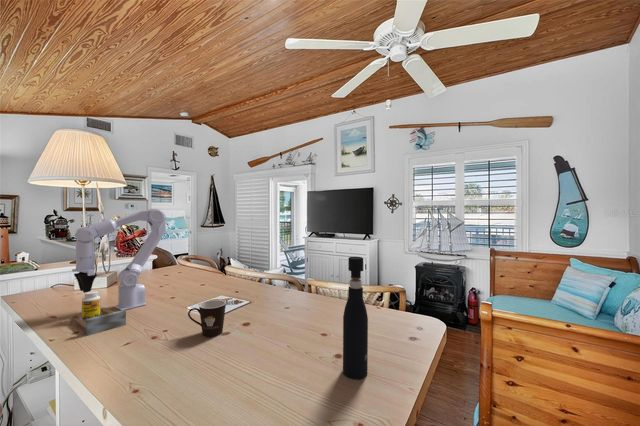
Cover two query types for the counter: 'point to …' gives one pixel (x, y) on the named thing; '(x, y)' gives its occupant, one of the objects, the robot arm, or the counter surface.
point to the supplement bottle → (91, 305)
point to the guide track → (100, 322)
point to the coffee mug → (211, 317)
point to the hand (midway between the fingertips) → (85, 291)
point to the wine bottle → (355, 325)
